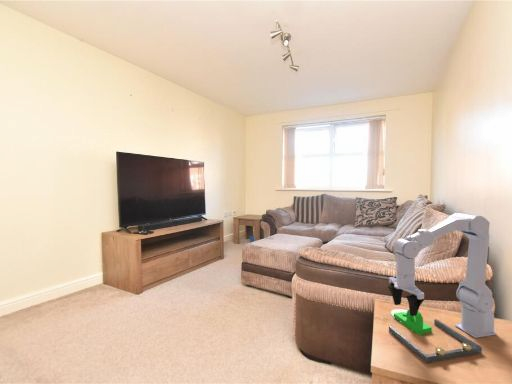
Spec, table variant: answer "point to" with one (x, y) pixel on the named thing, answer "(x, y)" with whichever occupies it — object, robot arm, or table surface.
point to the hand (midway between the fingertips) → (405, 309)
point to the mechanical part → (413, 322)
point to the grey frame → (440, 354)
